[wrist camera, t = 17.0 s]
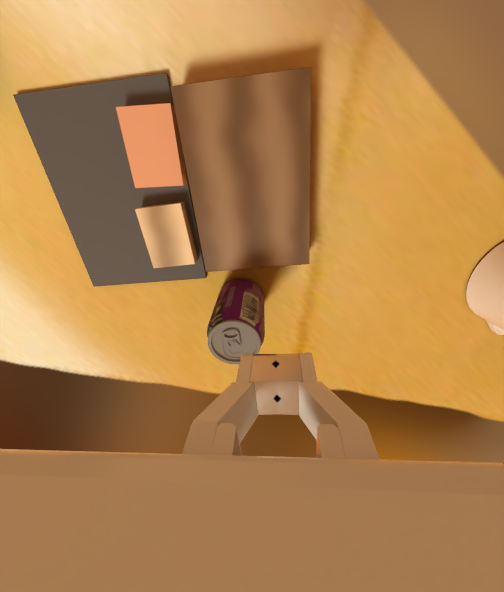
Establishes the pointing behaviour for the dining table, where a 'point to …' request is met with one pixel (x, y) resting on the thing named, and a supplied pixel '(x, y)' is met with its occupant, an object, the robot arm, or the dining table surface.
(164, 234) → the tan rectangular block
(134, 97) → the mat
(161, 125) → the tilted orange prism
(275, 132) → the walnut board
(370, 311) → the dining table surface
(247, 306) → the beverage can
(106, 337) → the dining table surface
